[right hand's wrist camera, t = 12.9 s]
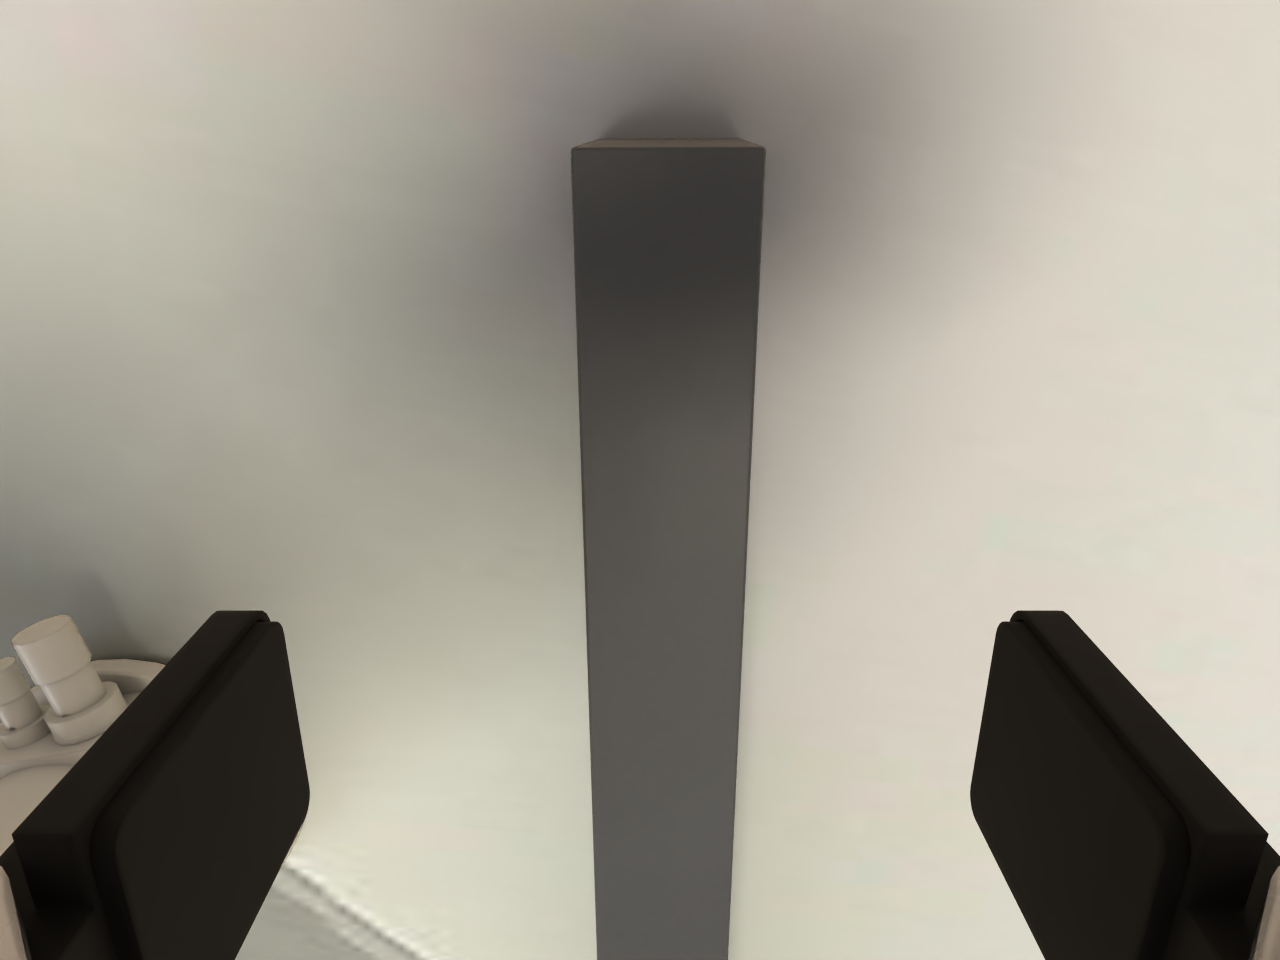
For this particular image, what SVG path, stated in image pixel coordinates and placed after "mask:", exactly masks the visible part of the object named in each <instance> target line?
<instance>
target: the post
mask: <svg viewBox="0 0 1280 960" xmlns="http://www.w3.org/2000/svg"><path fill="white" fill-rule="evenodd" d="M765 155H766V150H765V147H762V146H759V145H756V144H753V143H750V142H747V141H744V140H741V139H598V140H595V141H592V142H589V143H586V144H583V145H580V146H577V147H574V148H572V149H571V173H572V203H573V234H574V264H575V295H576V325H577V356H578V386H579V417H580V447H581V478H582V508H583V538H584V569H585V599H586V630H587V660H588V691H589V721H590V752H591V782H592V813H593V843H594V874H595V904H596V935H597V960H728V944H729V922H730V901H731V880H732V858H733V837H734V816H735V795H736V773H737V752H738V731H739V709H740V688H741V667H742V645H743V624H744V603H745V581H746V560H747V539H748V518H749V496H750V475H751V454H752V432H753V411H754V390H755V368H756V347H757V326H758V304H759V283H760V262H761V241H762V219H763V198H764V177H765Z"/></svg>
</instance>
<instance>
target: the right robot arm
mask: <svg viewBox="0 0 1280 960" xmlns="http://www.w3.org/2000/svg"><path fill="white" fill-rule="evenodd" d="M11 641H12V645H13V646H14V648H15V650H16V652H17V653H18V655H19V657H20V659H21V661H22V662H23V664H24V666H25V668H26V669H27V671H28V673H29V675H30V676H31V678H32V680H33V682H34V684H35V685H36V686H34V687H33V688H32V689H30V688H31V686H30V684H29V682H28V680H27V678H26V677H25V675H24V673H23V671H22V670H21V668H20V666H19V664H18V662H17V661H16V659H15V657H6V658H2V659H0V719H1V721H2V722H1V724H0V960H235V958H236V956H237V954H238V952H239V950H240V948H241V946H242V944H243V942H244V940H245V938H246V936H247V934H248V932H249V930H250V928H251V926H252V924H253V922H254V920H255V918H256V916H257V914H258V912H259V910H260V908H261V906H262V904H263V902H264V900H265V898H266V896H267V894H268V892H269V890H270V888H271V886H272V884H273V882H274V880H275V878H276V876H277V874H278V872H279V870H280V869H281V867H282V865H283V864H284V862H285V860H286V859H287V857H288V856H289V854H290V852H291V850H292V848H293V846H294V844H295V842H296V839H297V837H298V835H299V833H300V830H301V827H302V824H303V822H304V819H305V817H306V814H307V811H308V806H309V798H310V790H309V782H308V776H307V770H306V764H305V758H304V752H303V746H302V740H301V734H300V728H299V722H298V716H297V710H296V704H295V697H294V691H293V685H292V679H291V673H290V667H289V661H288V655H287V649H286V643H285V637H284V632H283V628H282V626H281V624H280V623H278V622H270V619H269V617H268V615H267V614H266V613H265V612H264V611H216V612H215V613H214V614H212V615H211V616H210V618H209V619H208V620H207V621H206V622H205V623H204V624H203V625H202V626H201V627H200V628H199V630H198V631H197V632H196V633H195V634H194V635H193V636H192V637H191V638H190V639H189V640H188V642H187V643H186V644H185V645H184V646H183V647H182V648H181V649H180V650H179V651H178V652H177V654H176V655H175V656H174V657H173V658H172V659H171V660H170V661H169V662H168V663H167V665H164V664H160V663H156V662H148V661H140V660H131V659H112V660H95V661H91V658H92V655H91V654H90V652H89V650H88V648H87V646H86V644H85V642H84V640H83V638H82V636H81V635H80V633H79V631H78V629H77V627H76V625H75V623H74V621H73V619H72V617H71V616H69V615H57V616H53V617H50V618H47V619H44V620H41V621H39V622H37V623H35V624H32V625H30V626H28V627H27V628H25V629H23V630H22V631H20V632H19V633H17V634H16V635H15V636H14V638H13V639H12V640H11ZM970 798H971V806H972V811H973V814H974V817H975V819H976V822H977V824H978V826H979V828H980V830H981V832H982V834H983V836H984V838H985V840H986V842H987V844H988V846H989V848H990V850H991V852H992V854H993V856H994V858H995V860H996V862H997V864H998V866H999V868H1000V870H1001V872H1002V874H1003V876H1004V878H1005V880H1006V882H1007V884H1008V886H1009V888H1010V890H1011V892H1012V894H1013V896H1014V898H1015V900H1016V902H1017V904H1018V906H1019V908H1020V910H1021V912H1022V914H1023V916H1024V918H1025V920H1026V922H1027V924H1028V926H1029V928H1030V930H1031V932H1032V934H1033V936H1034V938H1035V940H1036V942H1037V944H1038V946H1039V948H1040V950H1041V952H1042V954H1043V956H1044V958H1045V960H1280V856H1279V855H1278V854H1277V853H1276V851H1275V850H1274V849H1273V848H1272V847H1271V846H1270V845H1269V844H1268V843H1267V837H1268V833H1267V832H1266V831H1265V830H1264V829H1263V827H1262V826H1261V825H1260V824H1259V823H1258V822H1257V821H1256V820H1255V819H1254V818H1253V816H1252V815H1251V814H1250V813H1249V812H1248V811H1247V810H1246V809H1245V808H1244V807H1243V806H1242V804H1241V803H1240V802H1239V801H1238V800H1237V799H1236V798H1235V797H1234V796H1233V795H1232V794H1231V792H1230V791H1229V790H1228V789H1227V788H1226V787H1225V786H1224V785H1223V784H1222V783H1221V782H1220V780H1219V779H1218V778H1217V777H1216V776H1215V775H1214V774H1213V773H1212V772H1211V771H1210V769H1209V768H1208V767H1207V766H1206V765H1205V764H1204V763H1203V762H1202V761H1201V760H1200V759H1199V757H1198V756H1197V755H1196V754H1195V753H1194V752H1193V751H1192V750H1191V749H1190V748H1189V747H1188V745H1187V744H1186V743H1185V742H1184V741H1183V740H1182V739H1181V738H1180V737H1179V736H1178V734H1177V733H1176V732H1175V731H1174V730H1173V729H1172V728H1171V727H1170V726H1169V725H1168V724H1167V722H1166V721H1165V720H1164V719H1163V718H1162V717H1161V716H1160V715H1159V714H1158V713H1157V712H1156V710H1155V709H1154V708H1153V707H1152V706H1151V705H1150V704H1149V703H1148V702H1147V701H1146V700H1145V698H1144V697H1143V696H1142V695H1141V694H1140V693H1139V692H1138V691H1137V690H1136V689H1135V687H1134V686H1133V685H1132V684H1131V683H1130V682H1129V681H1128V680H1127V679H1126V678H1125V677H1124V675H1123V674H1122V673H1121V672H1120V671H1119V670H1118V669H1117V668H1116V667H1115V666H1114V665H1113V663H1112V662H1111V661H1110V660H1109V659H1108V658H1107V657H1106V656H1105V655H1104V654H1103V652H1102V651H1101V650H1100V649H1099V648H1098V647H1097V646H1096V645H1095V644H1094V643H1093V642H1092V640H1091V639H1090V638H1089V637H1088V636H1087V635H1086V634H1085V633H1084V632H1083V631H1082V630H1081V628H1080V627H1079V626H1078V625H1077V624H1076V623H1075V622H1074V621H1073V620H1072V619H1071V618H1070V616H1069V615H1068V614H1066V613H1065V612H1064V611H1016V612H1015V613H1014V614H1013V615H1012V617H1011V619H1010V622H1002V623H1000V624H999V626H998V628H997V632H996V637H995V643H994V649H993V655H992V661H991V667H990V673H989V679H988V685H987V691H986V697H985V703H984V710H983V716H982V722H981V728H980V734H979V740H978V746H977V752H976V758H975V764H974V770H973V776H972V782H971V790H970Z"/></svg>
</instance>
